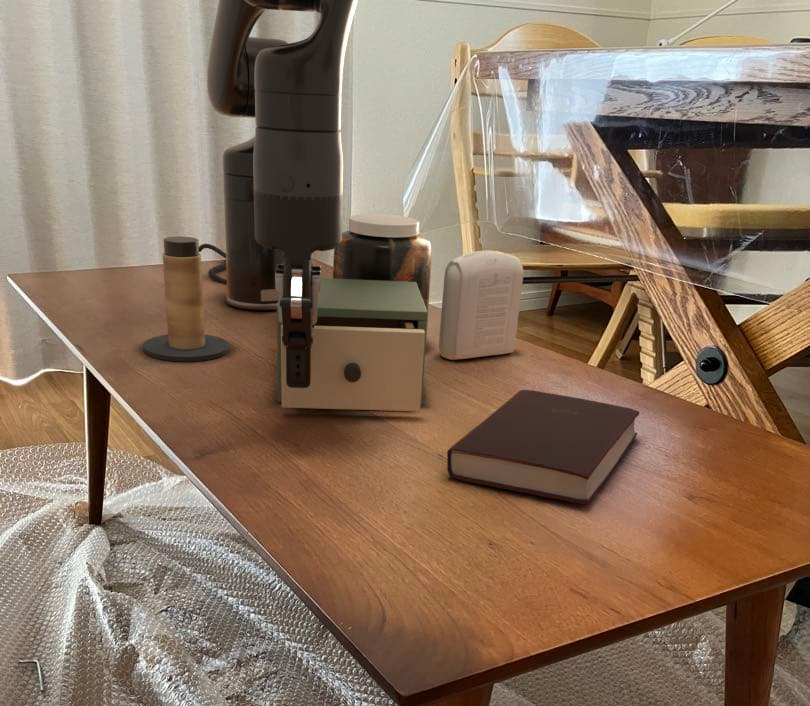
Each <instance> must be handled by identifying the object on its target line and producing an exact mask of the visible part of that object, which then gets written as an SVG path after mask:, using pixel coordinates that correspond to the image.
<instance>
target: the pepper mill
mask: <svg viewBox="0 0 810 706" xmlns="http://www.w3.org/2000/svg"><path fill="white" fill-rule="evenodd" d="M199 246H200V245H199V239H198V238H196V237H192V236H167V237H164V238H163V253H162V262H163V263H162V264H163V265H162V268H163V280H164V297H165V311H166V325H167V327H166V328H167V335H168V342H169V346H170V347H172V348H176V349H183V350H190V349H198V348H201V347H203V346H205V335H206V333H205V332H206V331H205V330H206V329H205V314H204V312H205V311H204V291H203V290H204V289H203V271H202V254H201V252H199Z"/></svg>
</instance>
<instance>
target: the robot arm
mask: <svg viewBox="0 0 810 706" xmlns="http://www.w3.org/2000/svg"><path fill="white" fill-rule="evenodd" d="M358 3H359V0H218V3H217V9H216V13H215V14H216V15H215V20H214V25H213V29H212V35H211V40H210V46H209V51H208V59H207V67H206V89H207V96H208V99H209V102H210V104H211V106H212V108H213V109H214V111H215V112H217V113H218V114H220V115H222V116H227V117H232V118H248V119H254V120H255V121H254V122H255V126H256V127H255V128H254V129H255V130H254V131H255V132H254V133H255V134H254V136H253V137H251V138H250V139H248V140H246V141H244V142H241V143H238V144H235V145H233V146H229V147H228V148H226V149H225V150H224V151H223V153H222V178H223V179H222V181H223V182H222V183H223V203H224V205H223V207H224V229H225V230H224V235H225V236H224V237H225V252H224V251H223V250H222V249H220V248H218V247H217V246H215V245H213V244H210V243H203V244H200V245H199V253H201V252H202V251H203V250H205V249H208V250H212V251H214V252H215V253H217V254H218V255H220V256H221V257H223V258H224V259H225V260H224V262H222V263H221V264H218V265H216V266H214V267H212V268H210V269H209V270H208V275H209V277H210V278H211V279H213V280H214V281H216V282H218V283H221V284H223V285H226V304H228V305H229V306H231V307H234V308H238V309H242V310H249V311H277V304H278V312H279V321H280V322H281V323H282V324H283V336H282V342H283V343H284V346H285V347H286V383H287V385H288V386H289V387H291V388H307V387H309V386H310V380H311V348H312V344H313V340H314V334H312V329H313V328H314V324H316V322H317V315H318V293H319V292H320V287H321V278H322V265H314V263H313V254H314V252H318V251H319V252H326V251H331V250H334V249H335V248H337V247H338V246H340V244H341V242H342V232H343V209H344V208H343V207H344V206H343V205H344V204H343V203H344V152H343V151H344V150H343V144H342V132H341V131H342V107H343V106H342V102H343V99H342V97H343V96H342V94H343V76H344V75H343V74H344V67H345V58H346V52H347V47H348V42H349V38H350V33H351V29H352V25H353V20H354V18H355V13H356V11H357V7H358ZM267 10H275V11H291V12H308V13H309V12H310V13H317V14H320V15H319V20H318V23H317V26H316V28H315V29H314V31H313V32H312V33H311V34H310V35H309V36H308V37H307V38H304V39H302V40H298V41H295V42H289V43H288V41H286V40H285V39H284V40H283V39H279V38H270V37H258V36H257V37H255V36H250V35H251V33H252V31H253V29H254V28H255V26H256V24H257V22H258V21H259V19H261V17H262V16H263V15H264V13H265V12H266V11H267ZM224 269H226V279H225V278H223V277H221V276H219V275H217V274H216V272H219V271H221V270H224Z"/></svg>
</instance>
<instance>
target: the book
mask: <svg viewBox="0 0 810 706" xmlns="http://www.w3.org/2000/svg"><path fill="white" fill-rule="evenodd" d="M639 415H640V411H639V410H636V409H633V408H631V407H625V406H621V405H615V404H611V403H606V402H601V401H595V400H590V399H585V398H580V397H575V396H569V395H562V394H556V393H550V392H543V391H538V390H531V389H521V390H519V391H517V392H516V393H515V394H514V395H513V396H512V397H511V398H509V399H508V400H507V401H506V402H505V403H503V404H502V405H501V406H500V407H499V408H497V409H496V410H494V412H492V413H491V414H490V415H489V416H488V417H487V418H485V419H484V420H483V421H481V423H479V424H478V425H476V426H475V427H474V428H473V429H471V430H470V431H469V432H468V433H467V434H465V435H464V436H463V437H462V438H460V439H458V441H457V442H456V443H454V444H453V445H452V446H451V447H450V448H449V449H448V450H447V451H446V455H447V457H446V458H447V463H446V464H447V469H446V470H447V473H448V476H449V477H450V478H452V479H456V480H458V481H463V482H467V483H473V484H476V485H482V486H488V487H492V488H497V489H503V490H507V491H512V492H519V493H525V494H529V495H533V496H534V495H535V496H538V497H544V498H549V499H554V500H555V499H556V500H560V501H565V502H569V503H572V504H573V503H575V504H583V505H588V504H589V503H590V501H591V500H592V499H593V498H594V497H595V495H596V494H597V493H598V491H599V490H600V488H601V487H602V485H603V484H604V483H605V482H606V481H607V480H608V478H609V476H610V474H612V473H613V471H614V469H615V468H616V466H617V465H618V463H619V462H620V460H622V459H623V457H624V456H625V454H626V452H627V451H628V450H629V448H630V446H631V445H632V443H633V442H634V441H635V440H636V437H637V436H638V432H636V431H635V420H636V418H637V417H639Z"/></svg>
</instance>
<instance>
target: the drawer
mask: <svg viewBox="0 0 810 706" xmlns="http://www.w3.org/2000/svg"><path fill="white" fill-rule="evenodd" d="M312 334H314V340H313V344H312V348H311V380H310V386H309V387H307V388H291V387H289V386H288V385H287V383H286V347H285V346H284V343H283V342H282V336H283V325H281V391H282V402H281V408H283V409H284V408H287V409H319V410H322V409H323V410H324V409H325V410H354V411H356V410H357V411H392V412H399V411H400V412H421V406H420V403H421V387H422V372H423V357H424V341H425V332H424V330H422V329H414V326H413V323H412V320H395V319H368V318H340V317H317V322H316V324H314V328H313V329H312Z"/></svg>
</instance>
